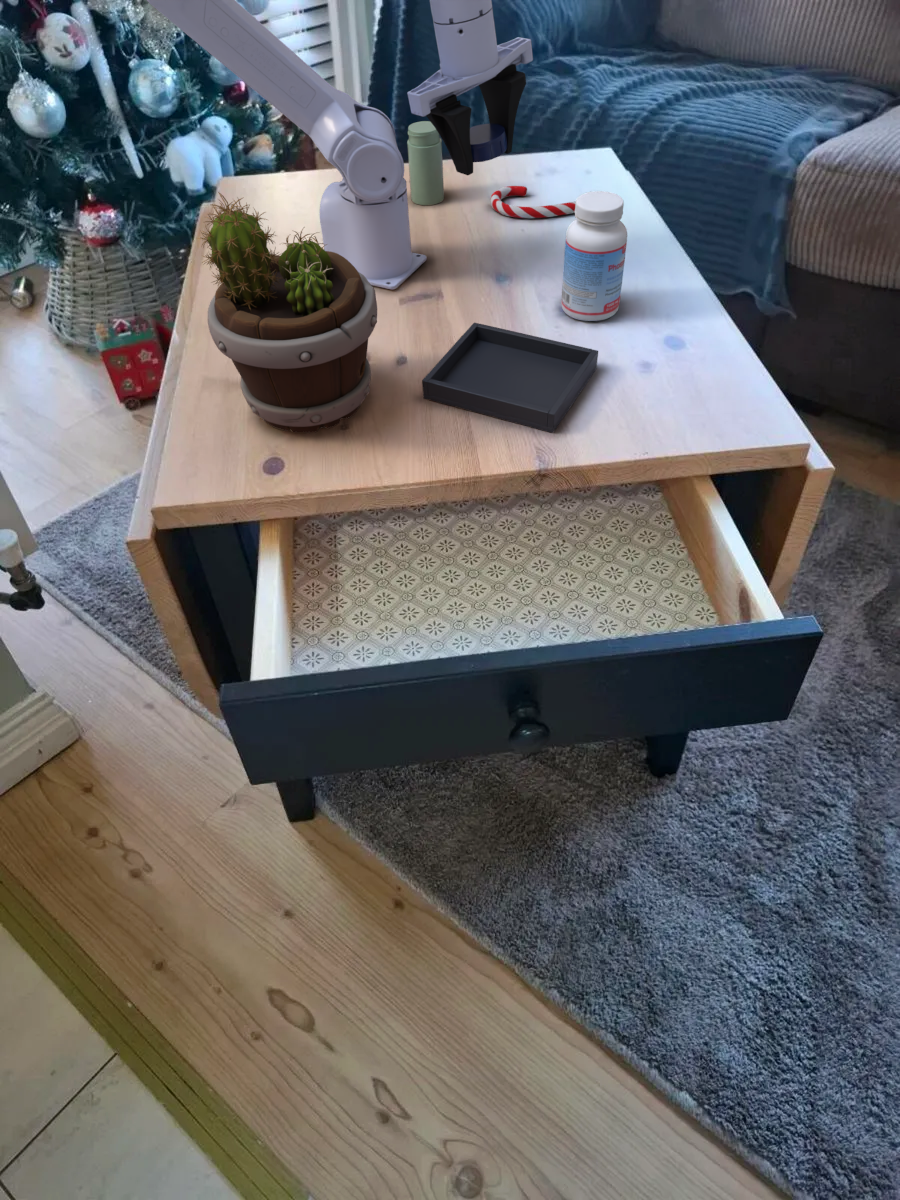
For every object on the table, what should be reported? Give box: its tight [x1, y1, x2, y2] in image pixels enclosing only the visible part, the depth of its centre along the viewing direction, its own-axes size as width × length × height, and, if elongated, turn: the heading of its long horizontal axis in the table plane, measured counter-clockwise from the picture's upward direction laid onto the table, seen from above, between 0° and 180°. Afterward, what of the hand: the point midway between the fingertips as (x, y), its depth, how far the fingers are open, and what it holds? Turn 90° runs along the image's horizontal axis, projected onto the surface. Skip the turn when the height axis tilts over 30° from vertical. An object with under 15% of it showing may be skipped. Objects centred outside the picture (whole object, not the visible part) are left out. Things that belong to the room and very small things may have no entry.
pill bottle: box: [560, 190, 628, 322], centre depth 85 cm, size 6×6×11 cm
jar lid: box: [470, 123, 508, 163], centre depth 88 cm, size 5×5×2 cm
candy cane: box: [489, 185, 576, 219], centre depth 106 cm, size 8×1×15 cm
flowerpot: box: [196, 191, 378, 434], centre depth 72 cm, size 14×15×20 cm
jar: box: [406, 120, 445, 206], centre depth 106 cm, size 4×4×9 cm
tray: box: [421, 322, 599, 433], centre depth 80 cm, size 13×11×2 cm
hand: (484, 161), depth 89 cm, fingers closed on jar lid, 5 cm apart
